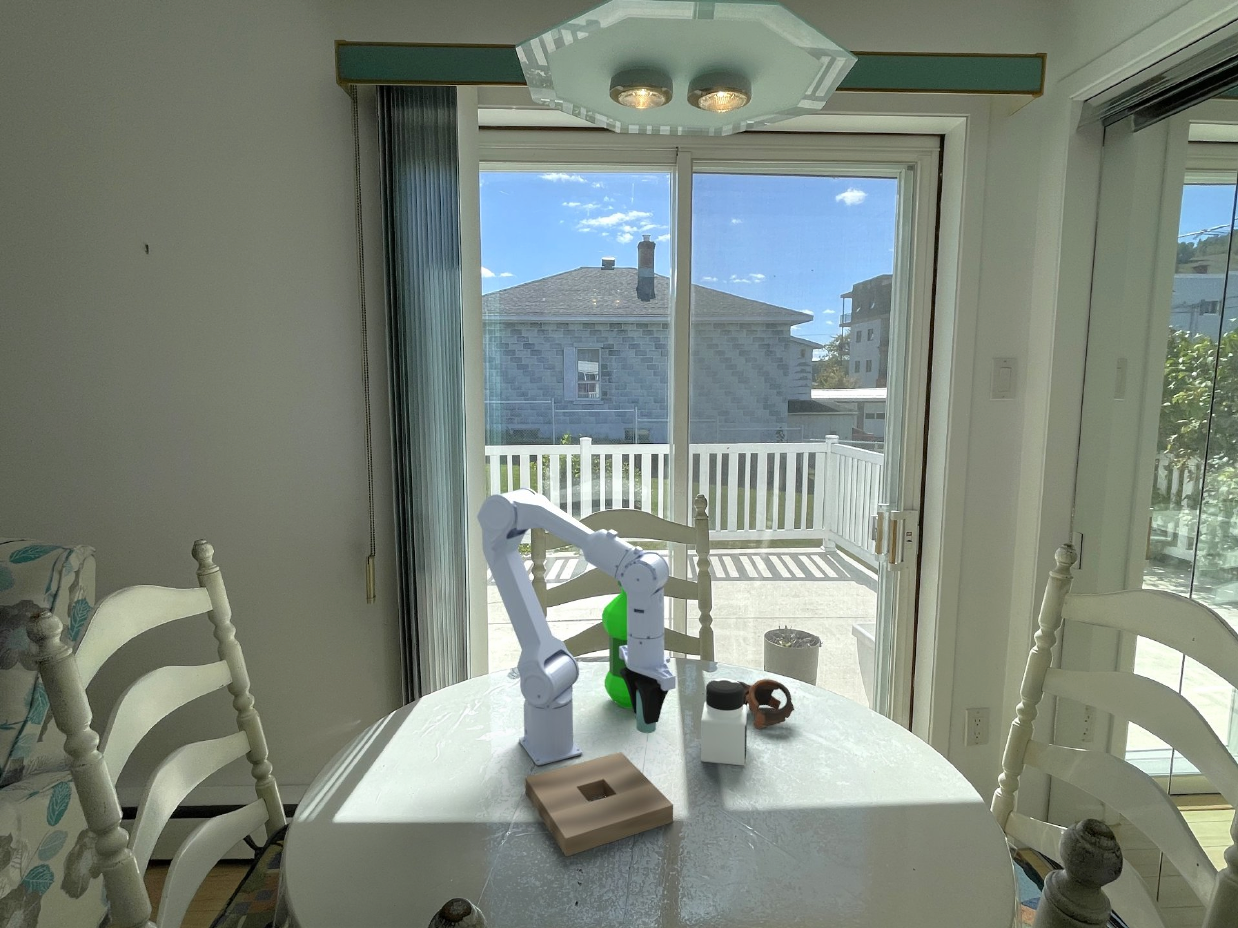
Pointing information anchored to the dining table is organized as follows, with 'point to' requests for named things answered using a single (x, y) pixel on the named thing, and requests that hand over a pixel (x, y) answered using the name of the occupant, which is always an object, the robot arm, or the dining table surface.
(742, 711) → the medicine bottle
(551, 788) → the socket board
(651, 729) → the peg
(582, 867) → the dining table surface
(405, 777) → the dining table surface
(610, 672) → the plastic bottle
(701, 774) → the dining table surface
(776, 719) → the brown jagged ring
